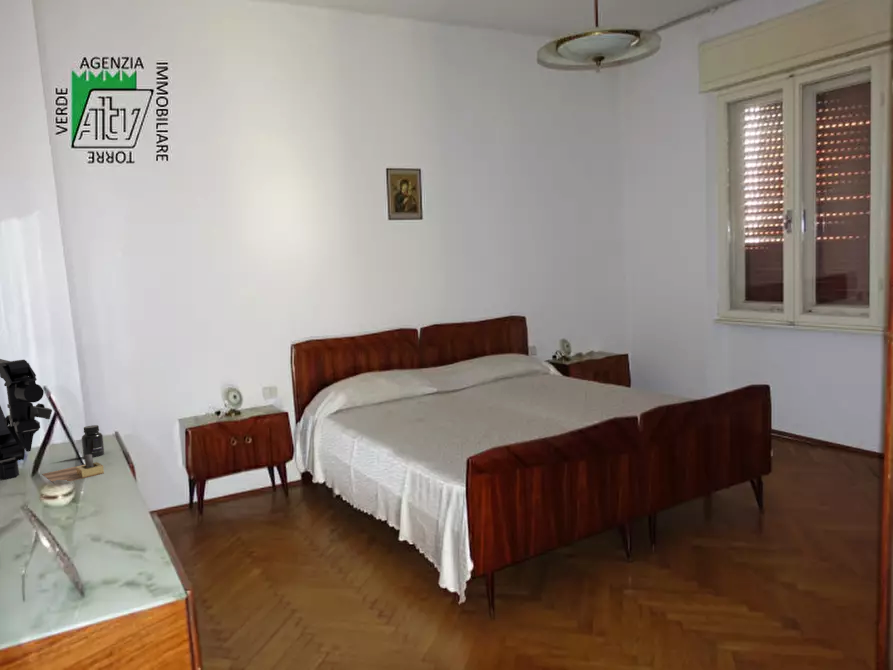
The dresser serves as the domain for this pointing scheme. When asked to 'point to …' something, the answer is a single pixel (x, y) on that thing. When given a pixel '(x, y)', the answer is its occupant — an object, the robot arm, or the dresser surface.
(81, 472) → the wooden square frame
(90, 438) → the supplement bottle
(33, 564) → the dresser surface
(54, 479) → the keeper board
